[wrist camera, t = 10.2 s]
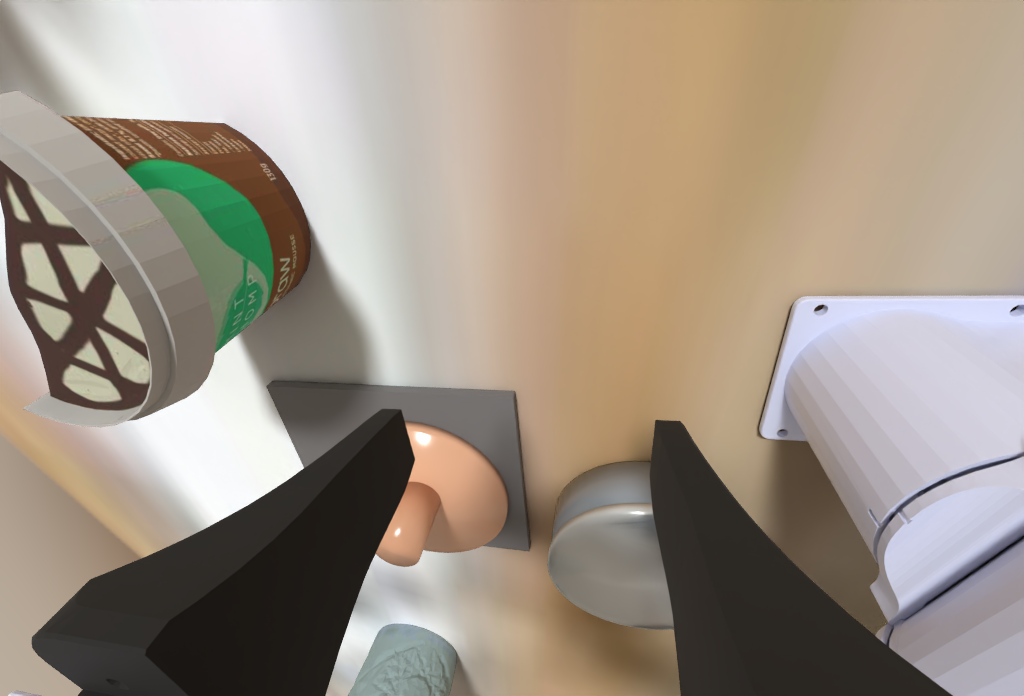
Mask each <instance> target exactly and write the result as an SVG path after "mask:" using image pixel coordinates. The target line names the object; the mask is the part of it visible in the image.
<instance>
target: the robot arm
mask: <svg viewBox="0 0 1024 696" xmlns="http://www.w3.org/2000/svg"><path fill="white" fill-rule="evenodd" d="M822 304H823V305H824V307H823V308H822V309H821V310H820V311H816V312H815V311H814V309H815V308H816V307H817V306H818V305H822ZM1017 305H1019V307H1018V308H1017V309H1016V310H1014V311H1012V312H1010V311H1011V309H1012V308H1013V307H1015V306H1017ZM781 429H785V430H783V431H781V432H778V431H779V430H781ZM759 431H760V433H761V435H762V436H763V437H764V438H767V439H777V440H795V441H808V443H809V445H810V446H811V448H812V450H813V452H814V453H815V455H816V457H817V459H818V461H819V462H820V464H821V466H822V468H823V469H824V471H825V473H826V475H827V476H828V478H829V480H830V482H831V483H832V485H833V487H834V489H835V490H836V492H837V494H838V496H839V497H840V499H841V501H842V503H843V504H844V506H845V508H846V510H847V511H848V513H849V515H850V517H851V518H852V520H853V522H854V524H855V525H856V527H857V529H858V531H859V533H860V534H861V536H862V538H863V540H864V541H865V543H866V545H867V547H868V548H869V550H870V552H871V554H872V555H873V557H874V559H875V561H876V562H877V564H878V566H879V570H880V571H879V576H878V578H877V579H876V581H875V582H874V583H873V584H872V585H871V586H870V589H871V591H872V593H873V595H874V597H875V599H876V601H877V603H878V604H879V606H880V608H881V610H882V612H883V614H884V616H885V618H886V620H887V622H888V624H886V625H885V626H883V627H882V628H881V629H879V630H878V632H877V633H876V635H873V634H872V633H871V632H870V631H869V630H867V629H866V628H865V627H864V626H863V625H861V624H860V623H859V622H858V621H856V620H855V619H854V618H853V617H852V616H851V615H849V614H848V613H847V612H846V611H845V610H844V609H843V608H842V607H841V606H839V605H838V604H837V603H836V602H835V601H834V600H833V599H832V598H831V597H829V596H828V595H827V594H826V593H825V592H824V591H823V590H822V589H820V588H819V587H818V586H817V585H816V584H815V583H814V582H813V581H812V580H810V579H809V578H808V577H807V576H806V575H805V574H804V573H803V572H802V571H801V570H800V569H799V568H798V567H797V566H796V565H795V564H794V563H793V562H792V561H791V560H790V559H789V558H788V557H787V556H786V555H785V554H784V553H783V552H782V551H781V550H780V549H779V548H778V547H777V546H776V545H775V544H774V543H773V541H772V540H771V539H770V538H769V537H768V536H767V535H766V534H765V533H764V532H763V531H762V530H761V529H760V527H759V526H758V525H757V524H756V523H755V522H754V521H753V519H752V518H751V517H750V516H749V515H748V514H747V512H746V511H745V510H744V509H743V508H742V506H741V505H740V504H739V503H738V502H737V500H736V499H735V498H734V497H733V495H732V494H731V493H730V492H729V490H728V489H727V488H726V486H725V485H724V484H723V482H722V481H721V480H720V478H719V477H718V476H717V474H716V473H715V472H714V470H713V469H712V468H711V466H710V465H709V463H708V462H707V460H706V459H705V458H704V456H703V455H702V453H701V452H700V450H699V449H698V447H697V446H696V444H695V443H694V441H693V439H692V438H691V436H690V435H689V433H688V431H687V430H686V428H685V426H684V425H683V424H682V423H681V422H680V421H663V420H656V421H655V430H654V439H653V448H652V457H651V466H650V488H651V499H652V510H653V516H654V521H655V526H656V531H657V536H658V541H659V546H660V551H661V556H662V561H663V566H664V571H665V576H666V581H667V586H668V591H669V596H670V602H671V608H672V614H673V623H674V632H675V641H676V650H677V660H678V670H679V680H680V690H681V696H1024V296H805V297H802V298H799V299H798V300H797V301H795V302H794V304H793V306H792V309H791V313H790V316H789V320H788V324H787V327H786V331H785V335H784V338H783V342H782V346H781V349H780V353H779V357H778V360H777V364H776V368H775V371H774V375H773V379H772V382H771V386H770V390H769V393H768V397H767V401H766V404H765V408H764V412H763V415H762V419H761V423H760V426H759ZM414 462H415V457H414V453H413V450H412V446H411V442H410V439H409V435H408V432H407V428H406V424H405V421H404V417H403V414H402V410H401V409H381V410H380V411H378V412H377V413H375V414H374V415H373V416H372V417H370V418H369V419H368V420H366V421H365V422H364V423H363V424H361V425H360V426H359V427H358V428H356V429H355V430H354V431H353V432H351V433H350V434H349V435H348V436H346V437H345V438H344V439H342V440H341V441H340V442H339V443H337V444H336V445H335V446H334V447H332V448H331V449H330V450H328V451H327V452H326V453H325V454H323V455H322V456H321V457H319V458H318V459H316V460H315V461H314V462H312V463H311V464H310V465H308V466H307V467H305V468H304V469H303V470H301V471H300V472H299V473H297V474H296V475H294V476H293V477H292V478H290V479H289V480H287V481H286V482H284V483H283V484H281V485H280V486H278V487H277V488H275V489H274V490H272V491H270V492H269V493H267V494H266V495H264V496H262V497H261V498H259V499H258V500H256V501H254V502H253V503H251V504H249V505H248V506H246V507H244V508H242V509H241V510H239V511H237V512H235V513H233V514H231V515H230V516H228V517H226V518H224V519H222V520H221V521H219V522H217V523H215V524H213V525H211V526H210V527H208V528H206V529H204V530H202V531H200V532H198V533H196V534H194V535H192V536H190V537H188V538H186V539H184V540H182V541H179V542H177V543H175V544H173V545H171V546H169V547H166V548H164V549H162V550H160V551H158V552H156V553H153V554H151V555H149V556H146V557H144V558H142V559H139V560H137V561H134V562H132V563H130V564H127V565H125V566H122V567H120V568H117V569H115V570H113V571H110V572H108V573H105V574H103V575H100V576H98V577H95V578H93V579H91V580H89V581H88V582H87V583H86V584H85V585H84V586H83V587H82V588H81V589H80V590H79V591H78V592H77V593H76V594H75V595H74V596H73V597H72V598H71V599H70V600H69V601H68V602H67V603H66V604H65V605H64V606H63V607H62V608H61V609H60V610H59V611H58V612H57V613H56V614H55V615H54V616H53V617H52V618H51V619H50V620H49V621H48V622H47V623H46V624H45V625H44V626H43V627H42V628H41V629H40V630H39V631H38V632H37V633H36V634H35V635H34V636H33V637H32V648H33V649H34V650H35V652H36V653H37V654H38V656H40V657H41V658H42V659H43V660H44V661H45V662H47V663H48V664H49V665H51V666H52V667H53V668H55V669H56V670H58V671H59V672H60V673H61V674H63V675H64V676H65V677H67V678H68V679H69V680H71V681H72V682H74V683H75V684H76V685H78V686H79V687H80V688H81V689H83V690H82V691H81V692H80V693H79V695H78V696H325V695H326V691H327V688H328V685H329V682H330V678H331V675H332V672H333V669H334V665H335V662H336V659H337V656H338V652H339V649H340V646H341V643H342V640H343V637H344V634H345V632H346V629H347V626H348V623H349V620H350V617H351V614H352V611H353V608H354V605H355V603H356V600H357V597H358V595H359V592H360V589H361V586H362V584H363V581H364V578H365V576H366V573H367V571H368V569H369V566H370V564H371V562H372V560H373V558H374V556H375V553H376V551H377V549H378V547H379V545H380V543H381V541H382V539H383V537H384V535H385V533H386V531H387V529H388V526H389V524H390V522H391V520H392V518H393V516H394V514H395V512H396V510H397V508H398V505H399V503H400V501H401V499H402V497H403V495H404V492H405V490H406V487H407V484H408V481H409V478H410V475H411V472H412V469H413V465H414ZM8 696H40V695H35V694H31V693H26V692H21V691H15V692H12V693H10V694H9V695H8Z"/></svg>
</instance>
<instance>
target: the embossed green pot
mask: <svg viewBox="0 0 1024 696" xmlns="http://www.w3.org/2000/svg"><path fill="white" fill-rule="evenodd" d="M455 666H456V652H455V650H454V648H453V647H452V646H451V644H450V643H448V642H447V641H446V640H445V639H443V638H442V637H440V636H439V635H437V634H435V633H433V632H431V631H429V630H426V629H424V628H420V627H417V626H413V625H407V624H391V625H387V626H385V627H383V628H382V629H381V630H380V631H379V633H378V634H377V636H376V638H375V640H374V642H373V645H372V647H371V649H370V651H369V654H368V656H367V658H366V660H365V662H364V664H363V666H362V668H361V670H360V672H359V674H358V676H357V678H356V681H355V684H354V686H353V688H352V689H351V691H350V693H349V695H348V696H449V693H450V690H451V686H452V681H453V676H454V671H455Z"/></svg>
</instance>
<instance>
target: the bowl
mask: <svg viewBox="0 0 1024 696" xmlns="http://www.w3.org/2000/svg"><path fill="white" fill-rule="evenodd" d="M650 466H651V462H645V461H629V462H618V463H612V464H607V465H603V466H599V467H596V468H594V469H591V470H589V471H587V472H585V473H583V474H581V475H579V476H578V477H576V478H575V479H574V480H572V481H571V482H570V483H569V484H568V485H567V486H566V487H565V488H564V489H563V491H562V492H561V494H560V496H559V498H558V500H557V503H556V508H555V516H554V525H553V533H552V541H551V543H550V547H549V553H548V571H549V574H550V577H551V579H552V581H553V583H554V585H555V586H556V588H557V589H558V590H559V591H560V592H561V594H562V595H563V596H565V597H566V598H567V599H568V600H569V601H570V602H572V603H573V604H574V605H576V606H577V607H579V608H581V609H582V610H584V611H586V612H588V613H590V614H592V615H594V616H596V617H599V618H601V619H603V620H606V621H609V622H613V623H616V624H620V625H624V626H628V627H634V628H641V629H649V630H674V623H673V614H672V608H671V602H670V596H669V591H668V586H667V581H666V576H665V571H664V566H663V561H662V556H661V551H660V546H659V541H658V536H657V531H656V526H655V521H654V516H653V510H652V499H651V488H650Z"/></svg>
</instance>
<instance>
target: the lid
mask: <svg viewBox="0 0 1024 696" xmlns="http://www.w3.org/2000/svg"><path fill="white" fill-rule="evenodd" d="M405 424H406V428H407V432H408V435H409V439H410V442H411V446H412V450H413V453H414V457H415V462H414V465H413V469H412V472H411V475H410V478H409V481H408V484H407V487H406V490H405V492H404V495H403V497H402V499H401V501H400V503H399V505H398V508H397V510H396V512H395V514H394V516H393V518H392V520H391V522H390V524H389V526H388V529H387V531H386V533H385V535H384V537H383V539H382V541H381V543H380V545H379V547H378V549H377V551H376V554H377V555H378V556H379V557H380V558H381V559H383V560H384V561H386V562H388V563H390V564H393V565H397V566H403V567H407V566H413V565H415V564H417V563H418V561H419V559H420V557H421V554H422V551H423V550H426V551H433V552H444V553H453V552H463V551H469V550H472V549H476V548H478V547H481V546H483V545H485V544H487V543H488V542H490V541H491V540H493V539H494V538H495V537H496V536H497V535H498V534H499V532H500V531H501V530H502V528H503V526H504V523H505V520H506V516H507V512H508V506H509V497H508V490H507V487H506V484H505V482H504V480H503V478H502V475H501V474H500V472H499V471H498V469H497V468H496V466H495V465H494V464H493V463H492V462H491V461H490V459H489V458H488V457H487V456H485V455H484V454H483V453H482V452H481V451H480V450H479V449H477V448H476V447H475V446H473V445H472V444H471V443H469V442H467V441H466V440H464V439H463V438H461V437H459V436H457V435H455V434H453V433H451V432H449V431H446V430H444V429H441V428H438V427H435V426H432V425H428V424H424V423H418V422H412V421H405Z"/></svg>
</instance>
